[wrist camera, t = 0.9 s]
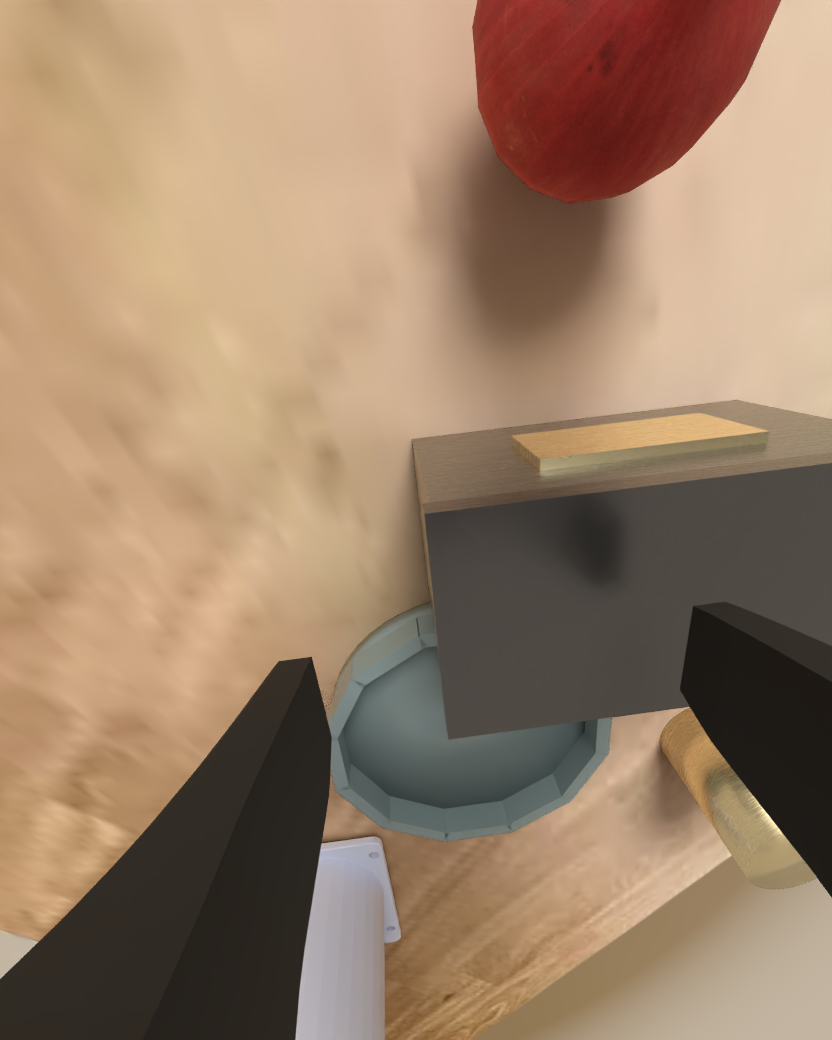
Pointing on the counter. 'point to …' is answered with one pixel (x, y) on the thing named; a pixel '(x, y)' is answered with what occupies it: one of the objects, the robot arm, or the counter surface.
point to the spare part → (732, 807)
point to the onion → (608, 84)
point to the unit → (615, 553)
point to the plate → (443, 746)
